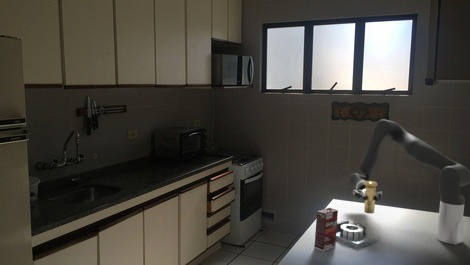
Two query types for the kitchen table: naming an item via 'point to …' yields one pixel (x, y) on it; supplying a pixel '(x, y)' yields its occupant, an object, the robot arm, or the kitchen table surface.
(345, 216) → the kitchen table surface
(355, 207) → the kitchen table surface
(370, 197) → the bushing
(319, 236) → the supplement box
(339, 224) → the jig
